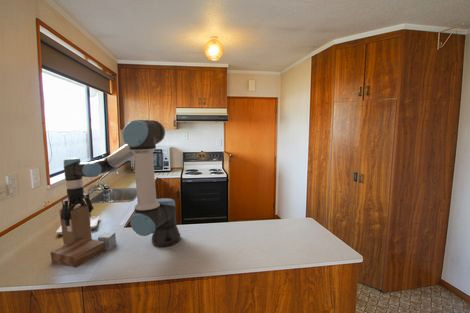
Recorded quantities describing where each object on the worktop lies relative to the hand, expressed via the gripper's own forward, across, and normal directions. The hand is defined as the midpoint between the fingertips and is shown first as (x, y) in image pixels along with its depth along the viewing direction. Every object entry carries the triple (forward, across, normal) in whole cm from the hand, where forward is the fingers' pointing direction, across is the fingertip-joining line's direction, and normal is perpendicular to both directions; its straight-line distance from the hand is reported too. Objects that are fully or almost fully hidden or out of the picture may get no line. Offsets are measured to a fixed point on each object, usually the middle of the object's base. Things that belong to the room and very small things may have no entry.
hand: (79, 227), depth 137 cm
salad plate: (+9, -16, -21) cm, 28 cm away
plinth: (+9, +11, +13) cm, 19 cm away
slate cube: (+9, -2, +17) cm, 19 cm away
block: (+9, 0, -2) cm, 9 cm away
